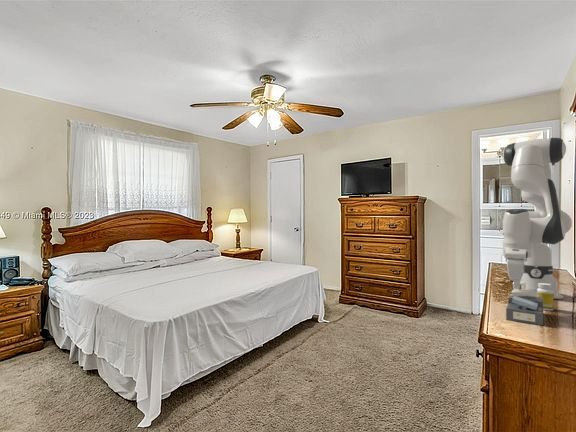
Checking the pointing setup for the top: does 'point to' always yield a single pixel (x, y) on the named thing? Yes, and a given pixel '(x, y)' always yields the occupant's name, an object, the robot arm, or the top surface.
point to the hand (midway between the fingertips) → (517, 288)
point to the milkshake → (522, 285)
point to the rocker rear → (526, 292)
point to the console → (525, 311)
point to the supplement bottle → (546, 296)
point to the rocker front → (524, 302)
